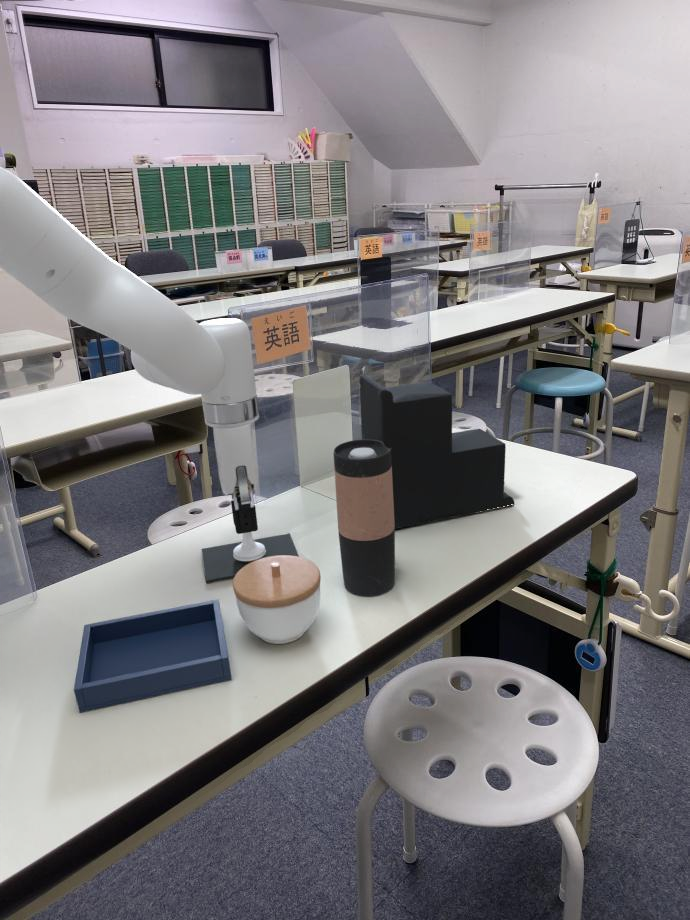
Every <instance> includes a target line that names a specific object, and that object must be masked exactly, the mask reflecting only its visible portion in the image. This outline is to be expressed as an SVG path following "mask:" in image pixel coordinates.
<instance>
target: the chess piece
mask: <svg viewBox="0 0 690 920" xmlns="http://www.w3.org/2000/svg"><path fill="white" fill-rule="evenodd" d="M239 496H240V495H239ZM239 496H238V497H239ZM254 540H255V539H254V538H253V532H248V533H242V541H241V542H242V543H241V544H240V545H238V546H237V547H235V549H234V550H233V553H234V554H233V557H234V558H235V559H237V560H239V561H253V560H257V559H259V558H261V557H263V556H264V555H265V553H266V550H265V546H264V545H263V544H261V543H258V542H255V541H254Z"/></svg>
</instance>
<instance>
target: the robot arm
mask: <svg viewBox="0 0 690 920" xmlns="http://www.w3.org/2000/svg"><path fill="white" fill-rule="evenodd" d="M0 269H1V270H3V271H5V272H6V273H7V274H9V276H11V277H12V278H14V279H15V280H16V281H17V282H19V283H20V284H22V285H23V286H24V287H26V288H27V289H28V290H29V291H31V292H32V293H33V294H35V296H37V297H38V298H40V299H41V300H42V301H43V302H44V303H46V304H47V305H48V306H49V307H51V309H54V310H55V311H56V312H57V313H58V314H60V315H62V316H64V317H66V318H67V319H69V320H71V321H73V322H74V323H76V324H78V325H80V326H82V327H84V328H87V329H89V330H92V331H94V332H96V333H98V334H101V335H103V336H105V337H107V338H109V339H112V340H113V341H114V342H117V343H118V344H120V345H121V346H123V347H125V348H127V349H128V350H130V360H131V364H132V366H133V368H134V369H135V371H136V372H137V373H138V375H139V376H141V377H142V378H143V379H145V380H147V381H148V382H150V383H153V384H156V385H159V386H162V387H164V388H169V389H172V390H175V391H178V392H181V393H184V394H187V395H191V396H192V395H193V396H197V395H201V403H202V404H201V405H202V411H203V417H204V423H205V425H206V426H208V427H211V428H212V431H213V432H212V433H213V441H214V443H213V444H214V450H215V457H216V464H217V472H218V479H219V483H220V487H221V491H222V494H223V495H225V496H226V497H228V496H229V495H231V500H230V505H231V506H230V507H231V513H232V520H233V525H234V527H235V532H236V534H237V535H241V534H242V535H243V533H248V532H251V533H253V532H257V531H258V530H259V526H258V518H257V510H256V505H255V502H254V494H253V492H256V491H257V489H258V473H257V472H258V471H257V460H256V459H257V458H256V449H255V441H254V434H253V433H254V432H253V426H252V424H253V423H255V422H256V421H258V420H259V419H260V414H259V413H260V412H259V405H258V394H257V387H256V386H257V385H256V378H255V368H254V359H253V349H252V341H251V333H250V328H249V326H248V324H247V323H246V322H245V321H243V320H242V319H239V318H233V317H231V318H228V317H227V318H215V319H209V320H204V321H201V322H200V323H199V322H197V320H195V319H194V318H193V317H192V316H191V315H190V314H189V313H188V312H186V310H185V309H183V307H181V306H179V305H178V304H177V303H176V302H174V301H173V300H172V299H170V298H169V297H167V296H166V295H165V294H163V293H162V292H161V291H159V290H158V289H156V288H155V287H153V286H151V285H150V284H149V283H147V282H146V281H145V280H143V279H141V278H140V277H138V276H137V275H136V274H135V273H133V272H132V271H131V270H129V269H128V268H126V267H125V266H123V265H121V264H120V263H118V262H117V261H116V260H114V259H112V258H111V257H110V256H109V255H107V254H106V253H105V252H104V251H102V250H101V249H100V248H99V247H98V246H97V245H96V244H94V243H93V242H92V240H90V239H89V238H88V237H87V236H85V235H84V234H83V233H82V232H81V231H79V230H78V229H77V227H75V226H74V225H73V224H72V223H70V221H68V220H67V219H66V218H65V217H64V216H63V215H62V214H60V213H59V212H58V211H57V210H56V209H55V208H54V207H53V206H51V204H50V203H48V202H47V201H46V200H45V199H43V197H41V196H40V195H39V194H38V193H37V192H36V191H35V190H34V189H32V187H30V186H29V185H28V184H27V183H25V182H24V181H23V180H22V179H21V178H19V176H17V175H15V173H12V171H9V169H6V168H4V167H3V166H0ZM239 495H240V496H239ZM238 496H239V497H238Z"/></svg>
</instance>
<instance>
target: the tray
mask: <svg viewBox="0 0 690 920" xmlns="http://www.w3.org/2000/svg"><path fill="white" fill-rule="evenodd" d="M223 622H224V621H223V616H222V610H221V604H220V599H219V598H216V599H212V600H205V601H202V602H201V601H200V602H196V603H191V604H186V605H181V606H175V607H171V608H164V609H159V610H155V611H148V612H144V613H139V614H134V615H128V616H123V617H118V618H113V619H106V620H102V621H96V622H92V623H88V624H84V625H83V632H82V637H81V643H80V649H79V657H78V663H77V668H76V675H75V679H74V687H73V693H74V696H75V700H76V704H77V708H78V712H79V713H80V714H81V713H84V712H85V713H86V712H89V711H90V712H91V711H93V710H98V709H103V708H107V707H112V706H117V705H121V704H126V703H130V702H135V701H139V700H144V699H150V698H154V697H158V696H159V697H160V696H162V695H168V694H171V693H177V692H182V691H186V690H190V689H194V688H195V689H196V688H199V687H204V686H208V685H213V684H218V683H223V682H227V681H231V680H232V679H233V678H232V671H231V665H230V659H229V651H228V646H227V641H226V635H225V629H224V623H223Z"/></svg>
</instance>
